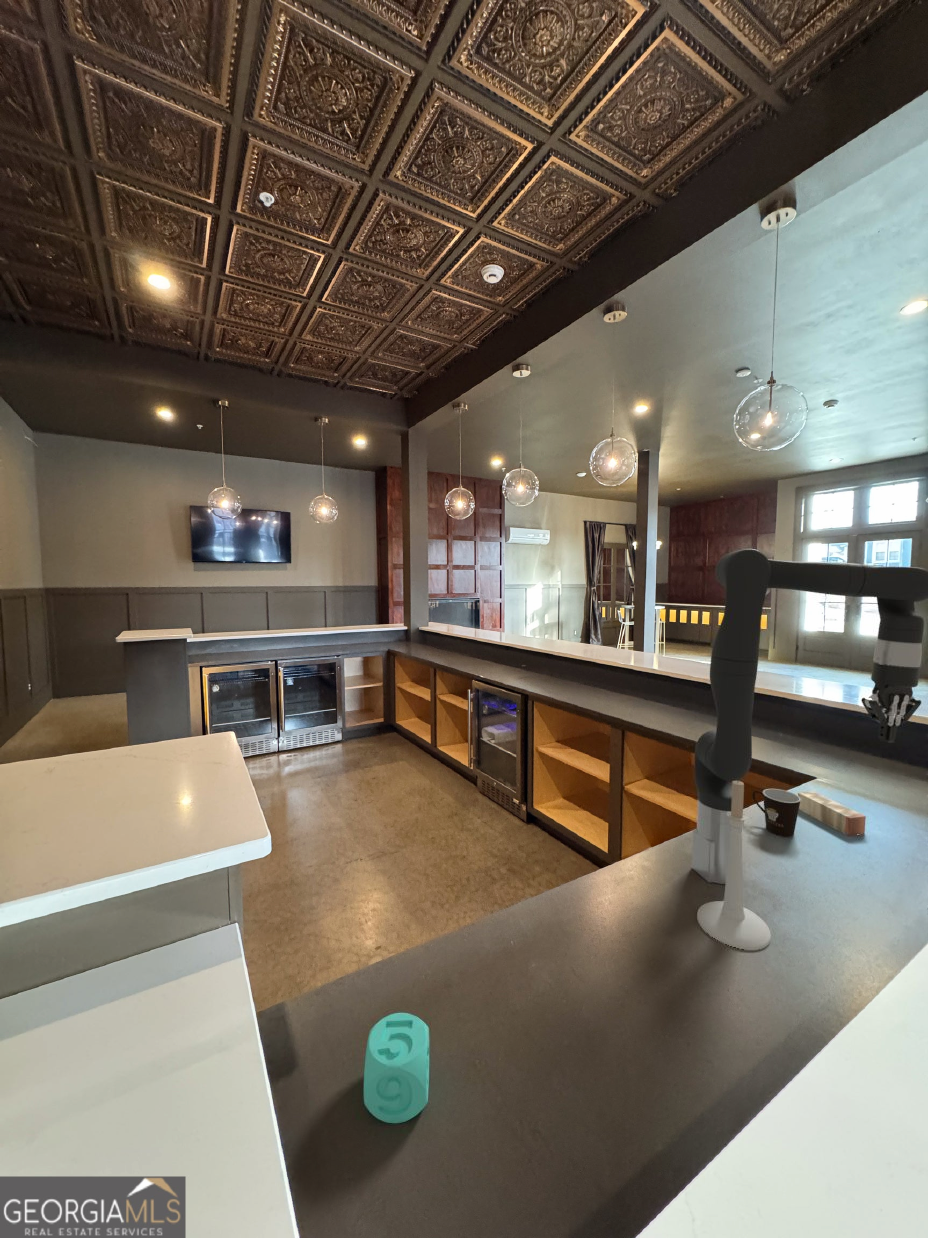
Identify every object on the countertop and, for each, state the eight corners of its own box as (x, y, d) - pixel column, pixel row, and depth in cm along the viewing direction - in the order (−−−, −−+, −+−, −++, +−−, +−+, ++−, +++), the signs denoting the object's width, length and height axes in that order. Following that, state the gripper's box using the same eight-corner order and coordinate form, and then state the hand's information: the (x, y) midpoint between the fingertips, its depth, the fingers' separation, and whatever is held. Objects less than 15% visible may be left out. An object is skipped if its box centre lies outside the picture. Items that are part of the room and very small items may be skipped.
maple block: (850, 818, 130) (798, 792, 145) (849, 836, 130) (797, 808, 146) (865, 816, 130) (812, 791, 146) (864, 834, 131) (811, 807, 147)
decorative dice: (429, 1062, 70) (428, 1010, 70) (427, 1123, 62) (425, 1066, 62) (374, 1064, 70) (372, 1012, 69) (364, 1126, 62) (362, 1068, 61)
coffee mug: (806, 839, 128) (808, 802, 128) (773, 839, 129) (775, 802, 128) (779, 817, 140) (780, 784, 139) (748, 817, 140) (750, 784, 139)
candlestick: (782, 955, 89) (789, 797, 87) (707, 945, 92) (712, 791, 90) (755, 909, 102) (761, 769, 99) (690, 901, 104) (694, 765, 102)
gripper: (904, 659, 108) (894, 734, 110) (853, 658, 106) (843, 736, 107) (942, 665, 101) (930, 747, 102) (888, 665, 98) (877, 748, 100)
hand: (886, 741), depth 105 cm, fingers closed
